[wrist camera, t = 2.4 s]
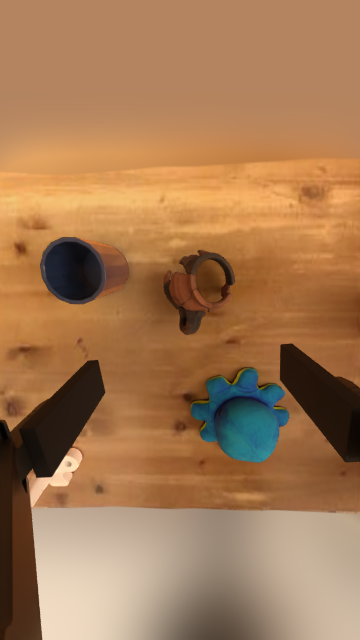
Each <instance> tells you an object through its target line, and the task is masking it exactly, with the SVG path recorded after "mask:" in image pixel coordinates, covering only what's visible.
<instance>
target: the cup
mask: <svg viewBox="0 0 360 640" xmlns="http://www.w3.org/2000/svg"><path fill="white" fill-rule="evenodd" d="M40 268H41V274H42V279H43V281H44V282H45V284H46V286H47V288H48V290H49V291H50V292H51V293H52V294H54V295H55V296H56V297H57V298H58V299H60V300H62V301H65V302H67V303H69V304H85V303H88V302H90V301H93V300H95V299H98V298H100V297H102V296H105V295H107V294H110V293H112V292H115V291H117V290H119V289H120V288H122V287H123V286H124V284H125V283H126V281H127V279H128V275H129V266H128V263H127V260H126V258H125V257H124V255H123V254H122V253H121V252H120V251H119V250H118V249H116V248H114V247H112V246H110V245H107V244H103V243H98V242H94V241H89V240H85V239H81V238H76V237H62V238H60V239H58V240H55V241H53V242H51V243H50V244H49V246H48V247H47V248H46V249H45V251H44V252H43V255H42V259H41V263H40Z"/></svg>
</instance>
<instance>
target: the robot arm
mask: <svg viewBox="0 0 360 640" xmlns="http://www.w3.org/2000/svg"><path fill="white" fill-rule="evenodd" d="M280 380H281V382H282V383H283V384H284V385H285V387H286V388H287V389H288V390H289V392H290V393H291V394H292V395H293V397H294V398H295V399H296V401H297V402H298V403H299V404H300V406H301V407H302V408H303V409H304V411H305V412H306V413H307V414H308V416H309V417H310V418H311V420H312V421H313V422H314V423H315V425H316V426H317V427H318V428H319V430H320V431H321V432H322V433H323V435H324V436H325V437H326V438H327V440H328V441H329V442H330V444H331V445H332V446H333V447H334V449H335V450H336V451H337V452H338V454H339V455H340V456H341V457H342V459H343V460H344V461H345V462H360V388H359V387H358V386H357V385H355V384H354V383H353V382H351V381H349V380H347V379H345V378H342V377H334V376H333V375H332V374H330V373H329V372H328V371H327V370H325V369H324V368H323V367H321V366H320V365H319V364H318V363H316V362H315V361H314V360H312V359H311V358H310V357H309V356H307V355H306V354H305V353H303V352H302V351H301V350H299V349H298V348H297V347H296V346H294V345H293V344H281V350H280ZM104 394H105V389H104V384H103V380H102V375H101V371H100V366H99V362H98V360H91V361H87V362H86V363H85V364H84V365H83V366H82V367H81V368H80V369H79V370H78V371H77V372H76V373H75V374H74V375H73V376H72V377H71V378H70V379H69V380H68V381H67V382H66V383H65V384H64V385H63V386H62V387H61V388H60V389H59V390H58V391H57V392H56V393H55V394H54V395H53V396H52V397H51V398H50V399H47V400H45V401H44V402H42V403H41V404H39V405H38V406H37V407H36V408H35V409H34V410H33V411H32V412H31V413H30V414H29V415H27V416H26V418H24V419H23V420H22V421H21V422H20V423H19V424H18V425H17V426H16V427H15V428H14V429H13V430H12V431H11V432H10V431H9V428H8V426H7V423H6V421H5V420H0V640H42V631H41V619H40V607H39V595H38V584H37V572H36V560H35V548H34V537H33V525H32V513H31V501H30V489H29V481H28V478H27V475H28V474H29V472H30V471H31V470H32V468H33V470H34V473H35V476H36V478H46V477H52V476H53V475H54V473H55V472H56V470H57V469H58V467H59V465H60V464H61V462H62V461H63V459H64V457H65V456H66V454H67V453H68V451H69V450H70V448H71V446H72V445H73V443H74V442H75V440H76V438H77V437H78V435H79V434H80V432H81V431H82V429H83V427H84V426H85V424H86V423H87V421H88V419H89V418H90V416H91V415H92V413H93V411H94V410H95V408H96V407H97V405H98V404H99V402H100V400H101V399H102V397H103V396H104Z"/></svg>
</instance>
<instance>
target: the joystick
mask: <svg viewBox="0 0 360 640" xmlns="http://www.w3.org/2000/svg"><path fill="white" fill-rule="evenodd" d="M81 460H82V454H81V452H80V451H79V450H78V449H76V448H70V450H69V451H68V453H67V454H66V456H65V457H64V459H63V461H62V462H61V464H60V465H59V467H58V469H57V470H56V472H55V473H54V475H53V476H52V477H46V478H36V476H35V473H34V475H33V476H32V478H31V479H30V481H29V489H30V501H31V509H32V507H33V506H34V504H35V503H36V501H37V500H38V498H39V497H40V495H41V494H42V492H43V491H44V490H45V488H46V487H47V485H48V484H49V483H50V485H51V486H67V485H68V483H69V482H70V480H71V478H72V476H73V474H72V473H71V472H73V471H75V470H76V469H77V468H78V466H79V464H80V462H81Z"/></svg>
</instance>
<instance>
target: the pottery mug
mask: <svg viewBox="0 0 360 640" xmlns="http://www.w3.org/2000/svg"><path fill="white" fill-rule="evenodd" d="M198 253H199V255H200V256H197V255H190V256H188V257H187V256H185V257H183V258H182V259H181V260H180V262H179V263H180V264H182V265H183V266H184V268H185V270H186V272H187V274H181V273H177V272H175V273H174V274H173V275H172V276H171V280H169V277H170V274H171V271H170V270H168V271H167V273H166V274H165V277H164V281H163V288H164V293H165V295H166V297H167V299H168V300H169V301H170V302H171V303H172V304H173V305H174V307H175V308H176V309H178V310H179V313H180V324H179V325H180V330H181V331H182V332H183V333H184V334H185V335H189V334H193V333H195V332H197V330H198V329H199V326H200V323H201V319H202V318H203V317H204V316H205V315H206V312H205V310H208V312H211V311H213V310H215V309H217V308H220V307H222V306H224V305H225V304H226V303H227V302H229V300H230V299H231V297H232V294H231V293H229V291H230V285H233V284H234V283H235V277H234V273H233V270H232V267H231V265H230V264H229V263H228V262H227V261H226V259H225V258H224V257H222V256H221V255H219V254H217V253H210V252H207V251H203V250H198ZM208 259H210V260H214V261H216V262H218V263H219V264H220V266H221V267H222V268H223V270H224V272H225V277H226V284H225V285H224V286H223V287H222V288H221V296H222V297H223V298H222V299H221V300H220V301H218V302H215V303H211V302H208V301H206V300H205V299H204V298H203V297H202V296H201V295H200V293H199V292H198V289H197V286H196V275H195V274H196V271H197V269H198V267H199V265H200V264H201V263H202V262H203V261H205V260H208ZM182 305H183V307H181V306H182Z"/></svg>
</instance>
